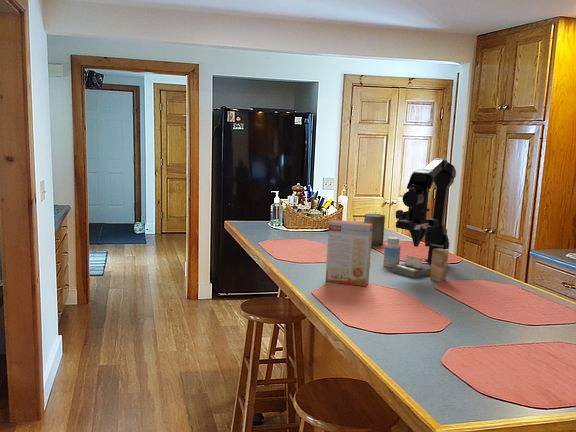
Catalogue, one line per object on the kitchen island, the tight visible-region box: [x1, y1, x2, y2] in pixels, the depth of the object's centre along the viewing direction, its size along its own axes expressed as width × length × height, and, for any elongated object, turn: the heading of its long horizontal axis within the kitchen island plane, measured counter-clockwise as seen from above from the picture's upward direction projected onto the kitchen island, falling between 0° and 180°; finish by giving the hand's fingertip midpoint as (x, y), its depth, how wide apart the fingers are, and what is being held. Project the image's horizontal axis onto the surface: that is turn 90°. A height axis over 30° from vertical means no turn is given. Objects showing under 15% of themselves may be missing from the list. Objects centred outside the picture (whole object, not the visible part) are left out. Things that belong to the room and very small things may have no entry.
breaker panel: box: [391, 262, 431, 279], centre depth 197 cm, size 12×10×3 cm
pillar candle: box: [363, 212, 386, 246], centre depth 249 cm, size 10×10×15 cm
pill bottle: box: [382, 236, 401, 268], centre depth 206 cm, size 6×6×11 cm
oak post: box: [429, 248, 450, 283], centre depth 189 cm, size 4×4×11 cm
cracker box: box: [325, 219, 373, 287], centre depth 178 cm, size 14×6×21 cm, turn 71°
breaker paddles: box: [404, 254, 424, 268], centre depth 196 cm, size 2×7×4 cm, turn 38°
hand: (415, 246), depth 196 cm, fingers closed
